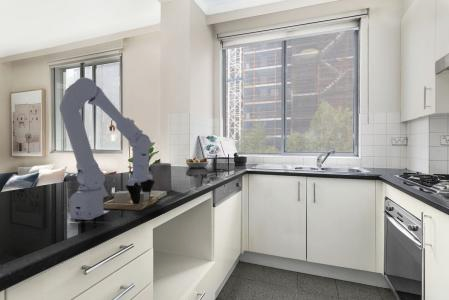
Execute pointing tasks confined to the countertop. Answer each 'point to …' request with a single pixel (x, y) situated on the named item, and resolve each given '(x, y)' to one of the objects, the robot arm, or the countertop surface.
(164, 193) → the stoneware dish
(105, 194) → the flask
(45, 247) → the countertop surface
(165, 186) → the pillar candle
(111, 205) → the wooden tray
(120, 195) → the stone
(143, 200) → the stone
